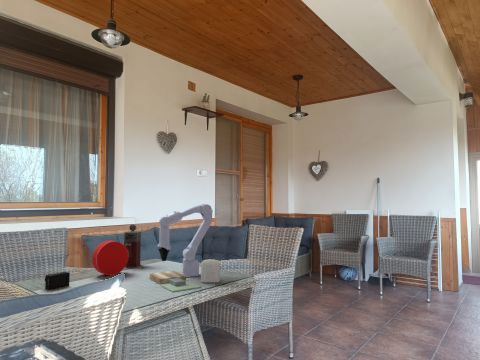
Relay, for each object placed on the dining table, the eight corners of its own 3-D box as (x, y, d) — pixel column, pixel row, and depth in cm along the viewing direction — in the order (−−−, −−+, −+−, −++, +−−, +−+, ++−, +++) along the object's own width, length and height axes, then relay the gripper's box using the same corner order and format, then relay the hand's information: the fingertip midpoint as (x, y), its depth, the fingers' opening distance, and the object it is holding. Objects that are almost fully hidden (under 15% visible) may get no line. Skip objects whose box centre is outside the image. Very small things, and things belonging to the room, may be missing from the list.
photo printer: (219, 281, 192) (219, 258, 192) (219, 282, 187) (219, 260, 188) (201, 281, 191) (201, 258, 192) (200, 283, 187) (201, 260, 187)
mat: (187, 281, 190) (187, 280, 190) (201, 287, 177) (201, 286, 177) (159, 285, 181) (159, 284, 181) (172, 292, 168) (172, 291, 168)
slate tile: (178, 281, 188) (178, 277, 188) (185, 284, 180) (185, 280, 180) (168, 282, 184) (168, 279, 184) (175, 286, 177) (175, 282, 177)
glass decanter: (122, 267, 226) (123, 225, 228) (127, 264, 237) (128, 224, 239) (135, 267, 226) (136, 225, 228) (140, 264, 238) (141, 224, 239)
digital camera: (63, 284, 182) (63, 271, 183) (69, 285, 179) (69, 272, 180) (43, 288, 173) (44, 274, 174) (49, 290, 170) (50, 275, 171)
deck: (174, 275, 204) (174, 270, 204) (185, 281, 191) (185, 275, 191) (149, 279, 195) (149, 273, 195) (160, 284, 182) (160, 279, 182)
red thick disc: (123, 271, 215) (124, 239, 217) (128, 272, 211) (129, 240, 213) (91, 276, 201) (92, 241, 202) (95, 277, 197) (96, 242, 198)
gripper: (153, 236, 205) (152, 259, 204) (162, 239, 193) (162, 263, 192) (164, 236, 209) (164, 258, 208) (174, 238, 197) (173, 262, 196)
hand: (163, 260), depth 201 cm, fingers closed
